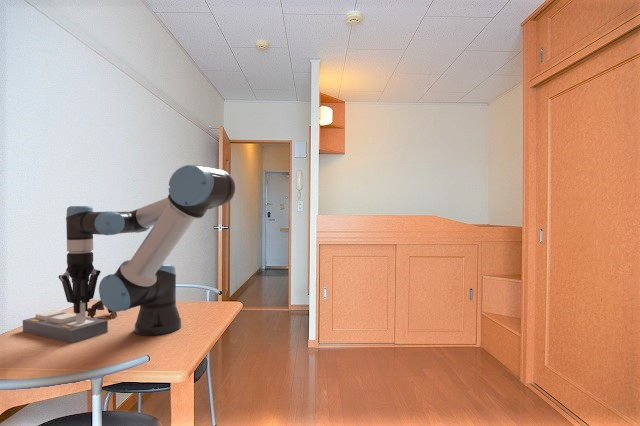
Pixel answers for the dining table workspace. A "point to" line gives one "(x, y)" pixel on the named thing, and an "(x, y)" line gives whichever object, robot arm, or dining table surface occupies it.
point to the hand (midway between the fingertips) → (80, 322)
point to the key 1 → (48, 315)
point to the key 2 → (76, 324)
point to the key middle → (63, 318)
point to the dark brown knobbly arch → (99, 306)
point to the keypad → (65, 329)
